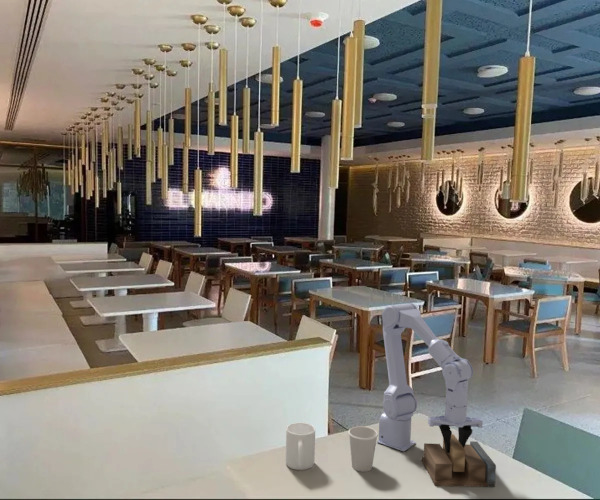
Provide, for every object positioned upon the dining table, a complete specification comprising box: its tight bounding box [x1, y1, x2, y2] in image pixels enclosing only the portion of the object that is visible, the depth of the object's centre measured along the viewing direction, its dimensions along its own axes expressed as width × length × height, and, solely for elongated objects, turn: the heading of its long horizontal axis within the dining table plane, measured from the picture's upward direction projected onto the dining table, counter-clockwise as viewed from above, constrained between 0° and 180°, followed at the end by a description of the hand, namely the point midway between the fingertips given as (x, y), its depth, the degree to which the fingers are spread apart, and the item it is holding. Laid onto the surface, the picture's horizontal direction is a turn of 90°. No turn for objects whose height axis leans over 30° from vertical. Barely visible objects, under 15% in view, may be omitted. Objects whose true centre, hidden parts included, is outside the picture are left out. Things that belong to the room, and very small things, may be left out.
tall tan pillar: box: [442, 433, 465, 472], centre depth 140 cm, size 3×10×6 cm, turn 0°
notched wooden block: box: [421, 440, 497, 488], centre depth 140 cm, size 16×14×6 cm
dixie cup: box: [347, 425, 379, 473], centre depth 142 cm, size 8×8×10 cm
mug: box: [285, 422, 316, 471], centre depth 141 cm, size 12×8×10 cm
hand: (453, 451), depth 140 cm, fingers closed on tall tan pillar, 3 cm apart
